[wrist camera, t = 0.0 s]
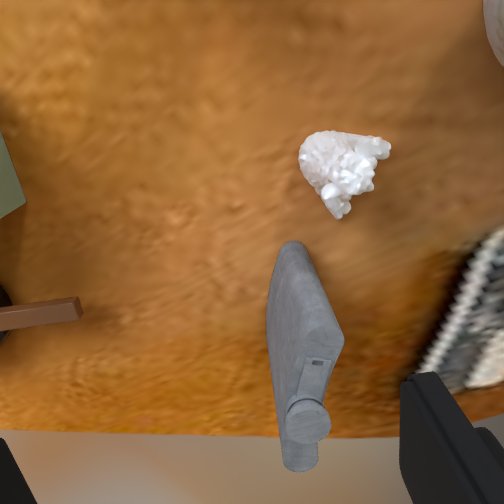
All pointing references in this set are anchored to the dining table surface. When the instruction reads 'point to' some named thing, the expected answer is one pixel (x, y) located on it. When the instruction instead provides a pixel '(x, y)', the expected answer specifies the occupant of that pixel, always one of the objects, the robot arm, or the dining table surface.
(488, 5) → the ceramic pitcher
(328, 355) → the hip flask
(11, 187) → the sage green box
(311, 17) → the dining table surface
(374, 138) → the sitting furry creature
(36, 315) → the pan
